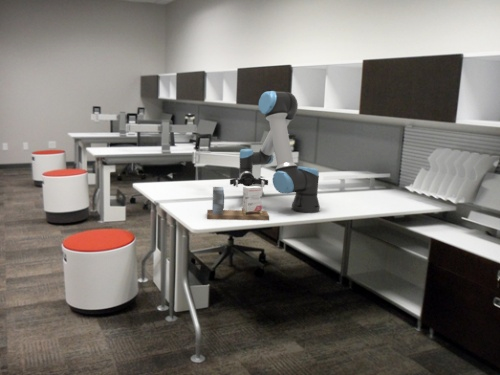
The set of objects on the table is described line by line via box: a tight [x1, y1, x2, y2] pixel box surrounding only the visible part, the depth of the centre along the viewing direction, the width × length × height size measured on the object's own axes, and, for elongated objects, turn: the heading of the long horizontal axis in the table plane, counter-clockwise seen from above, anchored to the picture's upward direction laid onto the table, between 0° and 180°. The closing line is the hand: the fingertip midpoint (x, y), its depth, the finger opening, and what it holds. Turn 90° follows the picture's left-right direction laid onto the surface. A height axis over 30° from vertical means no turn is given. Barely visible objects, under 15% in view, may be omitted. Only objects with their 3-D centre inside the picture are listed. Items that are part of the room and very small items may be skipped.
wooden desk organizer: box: [206, 186, 270, 221], centre depth 234 cm, size 30×11×14 cm, turn 95°
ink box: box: [241, 185, 263, 212], centre depth 235 cm, size 9×5×12 cm, turn 118°
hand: (250, 184), depth 244 cm, fingers open, 13 cm apart
